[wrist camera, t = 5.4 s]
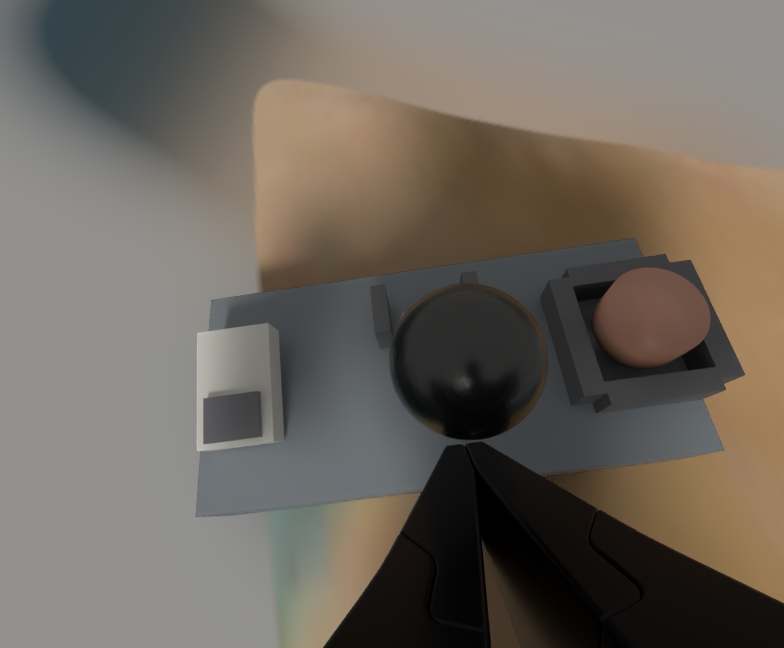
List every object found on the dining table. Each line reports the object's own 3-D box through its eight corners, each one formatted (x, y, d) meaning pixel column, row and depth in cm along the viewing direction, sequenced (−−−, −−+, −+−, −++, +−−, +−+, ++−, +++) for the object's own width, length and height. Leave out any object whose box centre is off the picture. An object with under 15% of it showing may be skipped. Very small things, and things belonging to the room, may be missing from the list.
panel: (696, 457, 17) (784, 439, 13) (231, 515, 18) (167, 517, 14) (623, 271, 21) (672, 209, 17) (238, 326, 22) (190, 280, 17)
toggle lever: (461, 346, 17) (585, 453, 5) (402, 354, 17) (399, 477, 5) (453, 287, 17) (563, 266, 5) (394, 296, 17) (373, 294, 5)
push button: (698, 362, 15) (727, 346, 13) (606, 375, 15) (625, 360, 13) (664, 283, 16) (687, 261, 15) (580, 295, 16) (594, 274, 15)
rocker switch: (284, 441, 16) (270, 441, 15) (212, 450, 16) (192, 451, 15) (278, 330, 17) (265, 320, 16) (212, 340, 17) (192, 330, 16)
